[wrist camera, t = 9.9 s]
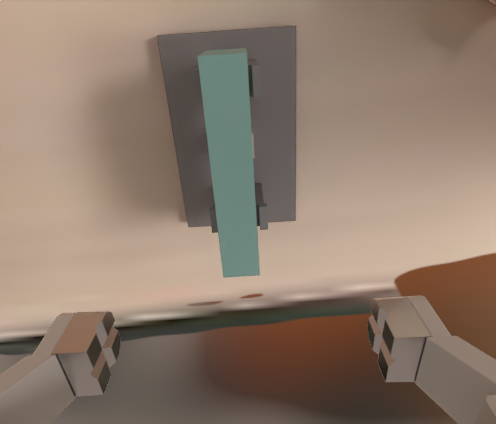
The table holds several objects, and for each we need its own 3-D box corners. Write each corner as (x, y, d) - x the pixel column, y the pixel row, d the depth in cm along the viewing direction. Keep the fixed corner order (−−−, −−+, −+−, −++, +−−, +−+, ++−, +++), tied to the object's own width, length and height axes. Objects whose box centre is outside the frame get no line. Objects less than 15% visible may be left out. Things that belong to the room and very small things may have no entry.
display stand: (294, 25, 26) (306, 25, 21) (294, 215, 33) (303, 248, 28) (159, 35, 26) (140, 37, 21) (189, 221, 33) (180, 255, 28)
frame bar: (245, 47, 22) (247, 52, 17) (256, 236, 28) (259, 275, 24) (206, 50, 22) (197, 56, 18) (226, 238, 28) (223, 277, 24)
